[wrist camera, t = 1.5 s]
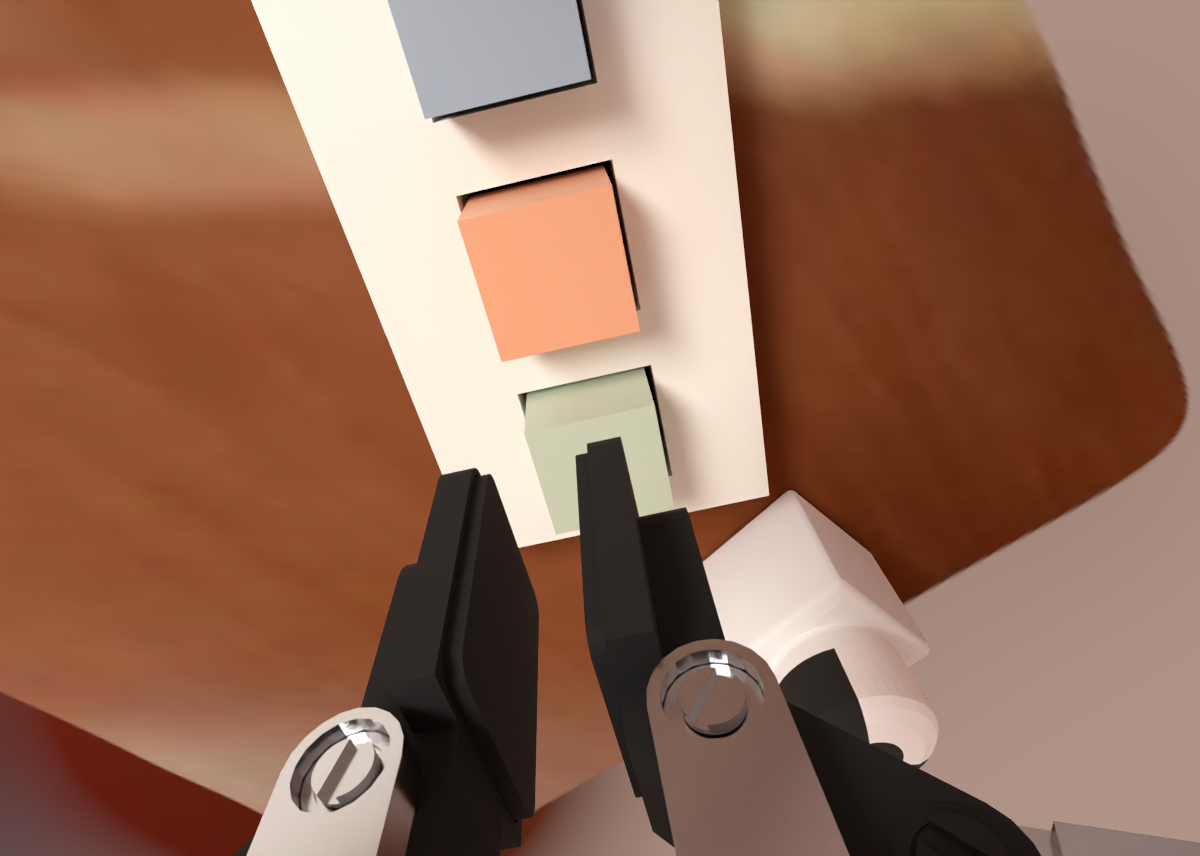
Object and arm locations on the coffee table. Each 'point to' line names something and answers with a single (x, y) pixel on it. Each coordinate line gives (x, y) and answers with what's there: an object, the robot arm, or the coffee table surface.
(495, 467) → the key board
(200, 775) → the coffee table surface
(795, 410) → the coffee table surface
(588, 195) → the key terracotta
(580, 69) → the key slate
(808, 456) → the coffee table surface
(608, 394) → the key sage
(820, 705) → the medicine bottle
